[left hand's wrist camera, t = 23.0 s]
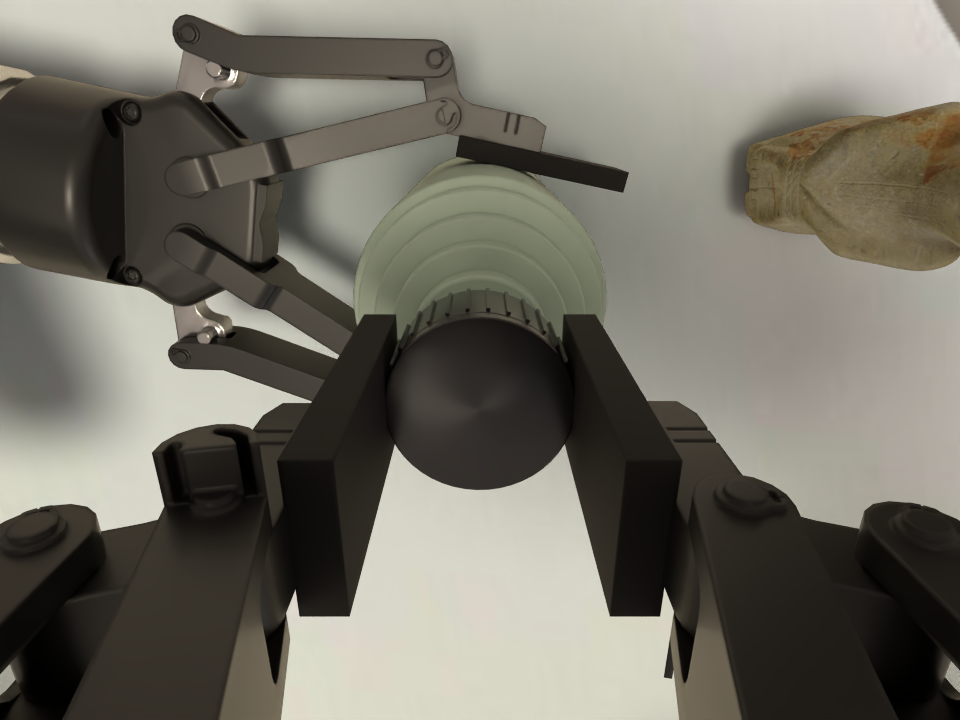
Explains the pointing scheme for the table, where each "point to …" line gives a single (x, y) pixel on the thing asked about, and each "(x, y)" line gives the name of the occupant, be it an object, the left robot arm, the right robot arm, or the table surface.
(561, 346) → the cap
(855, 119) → the sculpture
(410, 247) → the bottle
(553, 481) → the table surface
